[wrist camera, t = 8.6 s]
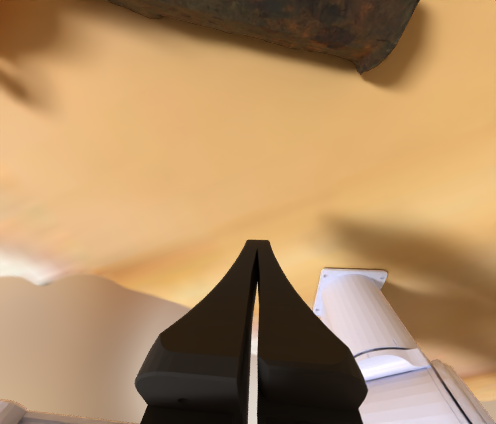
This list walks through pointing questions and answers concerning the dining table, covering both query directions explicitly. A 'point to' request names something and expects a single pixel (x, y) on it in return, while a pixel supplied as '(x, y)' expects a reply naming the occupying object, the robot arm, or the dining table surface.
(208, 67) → the dining table surface
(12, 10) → the dining table surface
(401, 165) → the dining table surface
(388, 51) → the dark brown elongated piece
